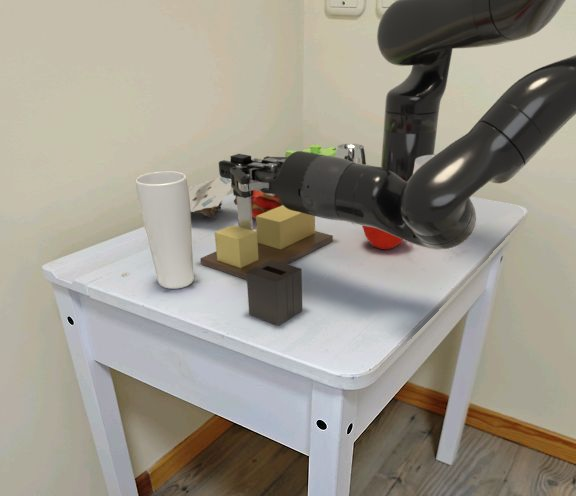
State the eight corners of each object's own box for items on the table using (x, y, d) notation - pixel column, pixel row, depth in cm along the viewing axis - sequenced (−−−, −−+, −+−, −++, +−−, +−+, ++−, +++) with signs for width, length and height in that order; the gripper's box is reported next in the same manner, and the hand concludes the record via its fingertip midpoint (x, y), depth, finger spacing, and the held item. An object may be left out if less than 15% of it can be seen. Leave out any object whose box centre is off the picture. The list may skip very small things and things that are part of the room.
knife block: (273, 300, 77) (272, 259, 74) (302, 310, 74) (302, 268, 71) (249, 314, 74) (246, 272, 70) (278, 325, 71) (276, 282, 68)
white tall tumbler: (178, 296, 79) (162, 187, 70) (143, 286, 82) (123, 180, 73) (209, 278, 83) (197, 174, 75) (174, 269, 86) (159, 168, 78)
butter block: (292, 227, 98) (291, 201, 95) (315, 233, 95) (315, 206, 92) (257, 242, 92) (255, 215, 89) (280, 249, 89) (279, 222, 87)
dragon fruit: (242, 218, 109) (287, 242, 103) (215, 202, 102) (261, 226, 96) (263, 178, 107) (309, 199, 101) (236, 158, 100) (285, 180, 94)
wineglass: (362, 220, 103) (365, 150, 96) (330, 218, 104) (332, 150, 97) (364, 210, 107) (368, 143, 100) (334, 208, 108) (336, 142, 101)
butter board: (282, 227, 100) (282, 222, 100) (332, 241, 94) (332, 235, 94) (200, 264, 88) (200, 258, 87) (252, 282, 82) (252, 275, 81)
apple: (419, 244, 92) (424, 199, 88) (391, 259, 88) (395, 212, 83) (379, 233, 97) (382, 190, 92) (350, 247, 92) (352, 201, 88)
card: (197, 207, 114) (183, 186, 111) (256, 192, 106) (243, 168, 103) (170, 242, 108) (155, 220, 105) (231, 228, 99) (216, 204, 96)
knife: (245, 243, 88) (238, 153, 80) (257, 247, 87) (251, 155, 79) (237, 247, 87) (229, 155, 79) (249, 251, 86) (243, 158, 78)
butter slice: (235, 252, 89) (232, 224, 86) (258, 259, 86) (257, 231, 84) (217, 260, 86) (214, 232, 84) (240, 268, 84) (238, 239, 81)
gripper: (353, 145, 75) (256, 130, 84) (287, 168, 66) (187, 148, 75) (351, 201, 79) (259, 181, 88) (288, 230, 70) (194, 204, 80)
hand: (226, 166), depth 82 cm, fingers closed on knife, 2 cm apart
